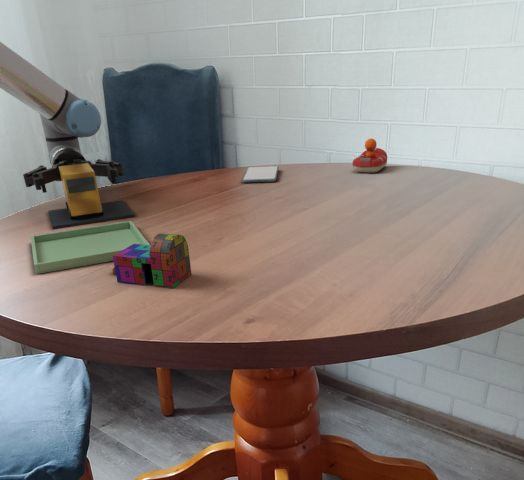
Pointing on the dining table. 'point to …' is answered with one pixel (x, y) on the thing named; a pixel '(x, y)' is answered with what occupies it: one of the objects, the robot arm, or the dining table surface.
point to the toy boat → (370, 158)
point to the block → (154, 261)
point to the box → (83, 246)
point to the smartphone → (261, 174)
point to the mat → (90, 215)
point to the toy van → (80, 190)
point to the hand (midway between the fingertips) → (78, 181)
